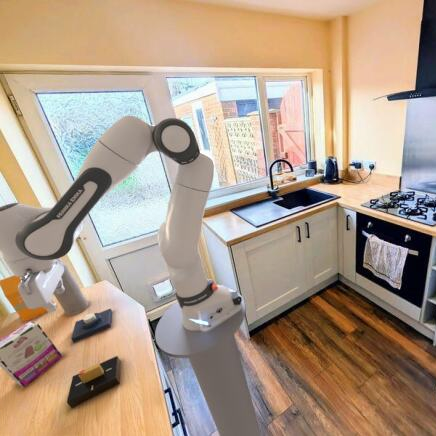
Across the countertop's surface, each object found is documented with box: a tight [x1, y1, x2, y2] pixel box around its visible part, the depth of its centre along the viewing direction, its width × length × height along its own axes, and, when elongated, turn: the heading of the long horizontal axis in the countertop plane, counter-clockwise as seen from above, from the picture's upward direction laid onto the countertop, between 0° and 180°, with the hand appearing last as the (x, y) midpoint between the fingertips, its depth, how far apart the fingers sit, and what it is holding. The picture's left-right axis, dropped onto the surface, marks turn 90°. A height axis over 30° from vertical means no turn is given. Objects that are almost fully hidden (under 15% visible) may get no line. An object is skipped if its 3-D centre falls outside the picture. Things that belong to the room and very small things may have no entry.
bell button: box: [82, 312, 96, 323], centre depth 97 cm, size 4×4×2 cm
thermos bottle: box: [53, 259, 89, 317], centre depth 104 cm, size 8×8×28 cm
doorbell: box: [70, 308, 113, 344], centre depth 98 cm, size 12×10×4 cm
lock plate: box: [66, 355, 122, 409], centre depth 76 cm, size 12×9×3 cm
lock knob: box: [78, 362, 104, 383], centre depth 74 cm, size 5×1×4 cm, turn 121°
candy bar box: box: [0, 320, 63, 388], centre depth 80 cm, size 11×5×16 cm, turn 161°
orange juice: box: [0, 274, 49, 323], centre depth 106 cm, size 8×9×20 cm
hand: (57, 300), depth 73 cm, fingers open, 8 cm apart
